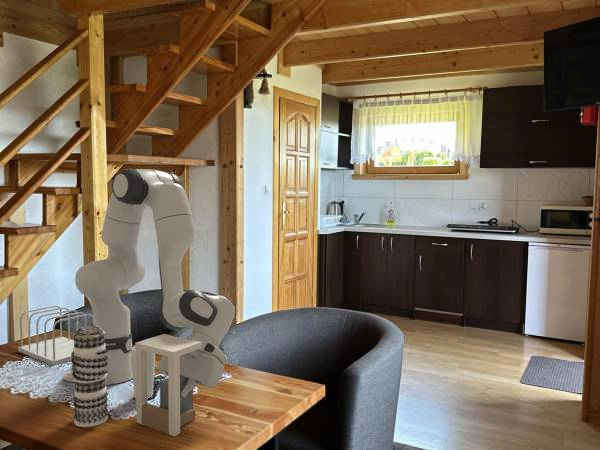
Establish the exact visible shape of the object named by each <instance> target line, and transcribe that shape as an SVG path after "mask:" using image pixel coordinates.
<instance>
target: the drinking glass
mask: <svg viewBox="0 0 600 450" xmlns="http://www.w3.org/2000/svg"><path fill="white" fill-rule="evenodd" d="M131 365H132V374H133V378H132V382H133V390H134V391H133V395H134V398H135V400H136V354H135V345H134V346H132V349H131ZM155 366H156V353H152V352H148V351H147V400H149V399H148V398H150V397H151V398H152V397H153V396H154V381H155V368H156V367H155ZM152 395H153V396H152ZM151 398H150V399H151Z"/></svg>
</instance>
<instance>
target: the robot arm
mask: <svg viewBox="0 0 600 450" xmlns="http://www.w3.org/2000/svg"><path fill="white" fill-rule="evenodd" d="M111 189H112V192H111V195H110V198H109V200H108V203H107V207H106V210H105V215H104V221H103V225H102V230H101V235H100V236H101V237H100V238H101V240H102V242H103V243H104V245H106V246H107V250H108V252H107V253H108V254H107V258H105V259H99V260H94V261H91V262H89V263H86V264H84V265H82V266H81V267H79V268H78V270H77V271H76V273H75V276H74V277H75V278H74V282H75V283H74V284H75V286H76V289H77V290H78V291H79V293H80V294H82V295H83V296H85V297H86V299H87V300H88V302H89V304H90V306H91V309H92V315H93V316H94V326H99V327H101V329H102V330H103V331H105V332H106V333H105V335H104V337H105V341H104V342H105V347H106V349H108V352H107V353H105V354H104V355H105V356H107V357H108V359H107V360H106V362H108V364H107V366H105V369H107V377H106V378H105V385H106V386H108V385H115V384H119V383H120V384H121V383H124V382H127V381H130V380H133V374H132V365H131V349H132V347H133V333H132V332H131V309H130V308H129V307H128V306H127V305H126V304H124V303H123V302H122V300H121V296H120V291H123V290H126V289H127V290H128V289H131V288H132V287H134V286H136V285H138V284H140V283H141V282H142V281H143V279H144V277H145V273H146V270H145V265H144V263H143V262H142V261H141V260H140V258H139V253H138V240H139V235H140V231H141V225H142V220H143V215H144V211H145V209H146V208H147V207H150V208H151V211H152V215H153V221H154V227H155V228H154V229H155V234H156V242H157V252H158V253H157V254H158V256H157V257H158V267H159V268H158V269H159V277H160V278H159V279H160V288H161V301H160V305H159V310H158V315H159V320H160V321H161V323H162V325H164V326H165V328H167V329H169V330H172V331H180V330H183V329H185V328H187V327H190V328H191V329H192V331H191V333H190V334H189V337H188V338H187V339H189V340H194V341H198V342H202V348H200V349H197V350H194V351H192V352H189V353H186V354H183V355H181V356H180V376H184V377H186V378H189V380H188V382H187V383H188V384H187V385H186V386H185V387H184V388H181V389H180V396H181V397H184V398H185V397H186V395H187V394H188V392H190V391H191V390H192V389H193V390H194V388H195V387H196V386H197V385H199V386H204V387H206V388H210V389H213V388H214V387H216V386H217V385H218V383H220V382H219V380H220V378H221V376H222V373H223V372H225V371H224V370H225V365H226V364H228V362H229V359H228V357H227V356H226V354H225V353H224V352H223V351H222V350H221V349H220V345H221V342H222V340H223V338H224V337H225V336H226V335H227V333H228V331H229V329H230V327H231V325H232V323H233V320H234V317H235V315H236V314H235V313H236V308H235V306H234V304H233V303H232V301H231V300H230V299H228V298H227V297H225V296H223V295H211V294H207V293H204V292H202V291H200V290H199V289H189V290H186V291H184V285H183V275H182V274H183V273H182V261H183V259H184V256H185V254H186V252H187V251H188V249H189V248H190V246H192V243H193V241H194V239H195V223H194V216H193V212H192V208H191V204H190V201H189V198H188V195H187V193H186V190H185V188H184V187H183V186H182V182H181V179H180V178H179V176H177V175H176V174H174V173H172V172H170V171H161V170H156V169H151V168H148V169H146V168H145V169H143V168H136V169H135V168H131V167H129V168H125V169H120V170H119V171H118V172H116V173H115V175H114V177H113V178H112V183H111ZM72 366H73V364H72V363H71V370H69V371H67V372H66V373H65V374H64V376H63V380H64V381H67V382H70V383H75V381H74V380H73V375H72V373H73V370H72V368H73V367H72ZM156 370H157V371H158V372H159V373H160V374H162V375H164V376H167V377H168V356H164V355H162V357H161V358H160V360H159V362H158V363H157V366H156Z"/></svg>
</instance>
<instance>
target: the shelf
mask: <svg viewBox="0 0 600 450" xmlns="http://www.w3.org/2000/svg"><path fill="white" fill-rule="evenodd" d="M134 346H135V354H136V399H135V402H136V404H135V406H136V407H135V410H136V413H135V415H136V416H135V417H136V419H135V420H136V423H137V424H140V425H143V426H145V427H148V428H151V429H153V430H156V431H159V432H161V433H164V434H168V435H170V436H172V437H176V436H178V435H180V434H181V427H183V426H185V425H187V424H189V423H191V422H193V421H195V420H196V410H195V409H194V408H193V409H190V410H188V411H186V412H184V413H182V414H180V356H181V355H183V354H186V353H189V352H192V351H194V350H197V349H200V348H202V342H198V341H194V340H189V339H188V338H183V337H179V336H174V335H170V334H166V333H163V334H160V335H156V336H153V337H149V338H146V339H143V340H140V341H137V342H135V343H134ZM147 351H148V352H152V353H155V355H161V356H168V376H167V378H168V403H169V410H166V409H163V408H160V406H157V405H153V404H151V403H148V399H147Z"/></svg>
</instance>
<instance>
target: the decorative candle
mask: <svg viewBox="0 0 600 450" xmlns="http://www.w3.org/2000/svg"><path fill="white" fill-rule="evenodd" d="M105 333H106V332H105V331H103V330H102V329H101V327H99V326H93V325H87V326H85V325H84V326H81V327H78V330H77V329H76V331H75V333H73V334H72V337H73V340H74V351H73V352H72V353H71V354H72V355H71V357H73V358H72V360H71V361H70V362H71V369H72V370H73V373H72V375H73V380H74V381H75V382H74V387H75V388H74V396H73V397H72V399H73V401H74V402H73V406H74V408H73V409H72V410H73V419H74V420H73V423H74V425H75V426H77V427H81V428H90V427H95V426H99V425H102V424H104V423H105V422H107V420H108V419H109V416H108V413H109V410H108V407H109V405H108V399H109V398H108V395H109V393H108V392H107V385H105V378H106V377H107V369H105V366H107V364H108V362H106V360H107V359H108V357H107V356H105V355H104V354H105V353H107V352H108V349H106V347H105V342H104V341H105V337H104V335H105ZM74 354H75V356H74ZM72 364H73V366H72ZM72 367H73V368H72Z"/></svg>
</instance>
